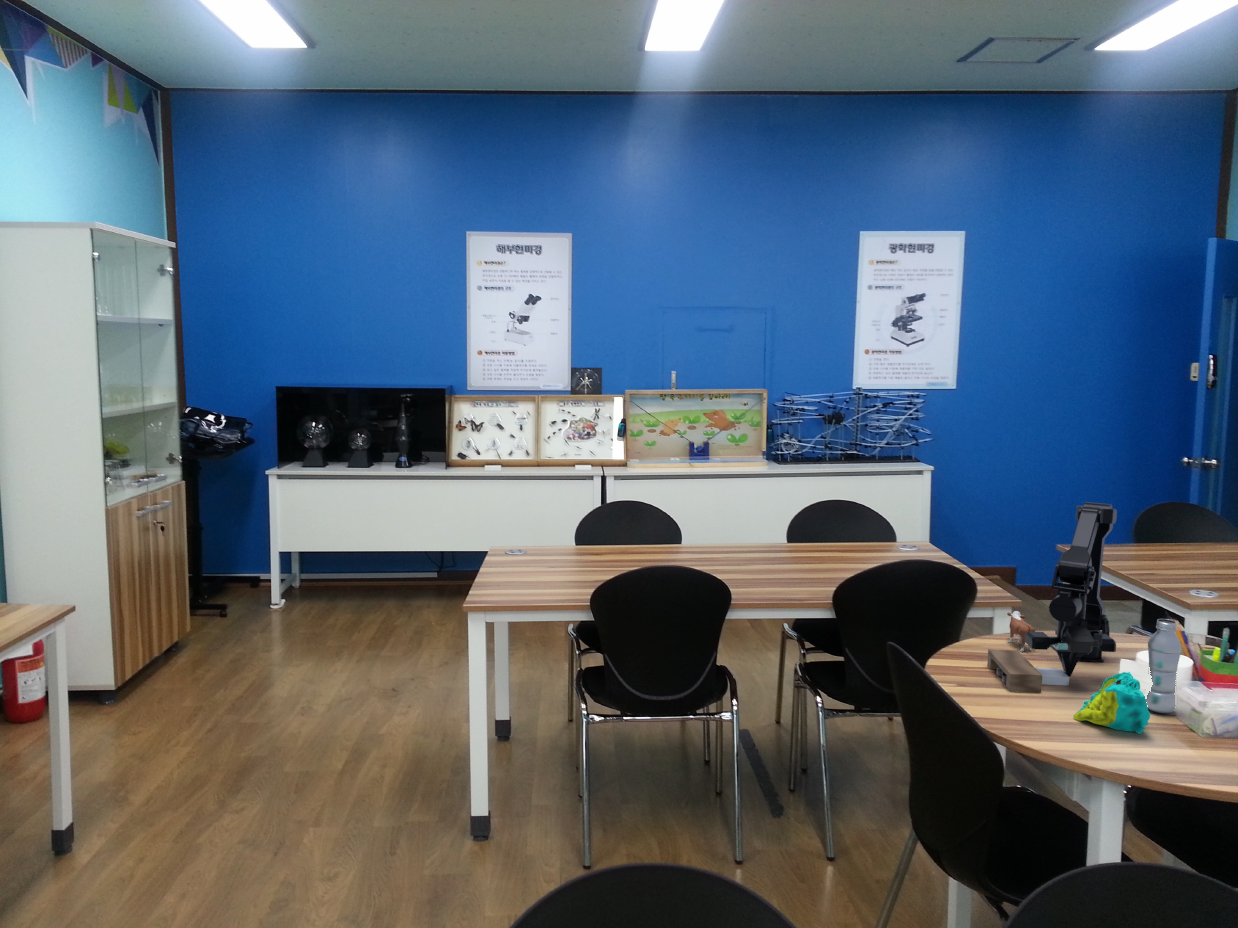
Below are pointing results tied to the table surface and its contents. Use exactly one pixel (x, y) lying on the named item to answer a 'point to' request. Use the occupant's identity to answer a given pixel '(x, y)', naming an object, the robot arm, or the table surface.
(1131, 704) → the turquoise and yellow lump
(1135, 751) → the table surface
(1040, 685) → the low shelf
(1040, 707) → the table surface
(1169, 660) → the plastic bottle
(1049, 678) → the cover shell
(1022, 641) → the bull figurine
